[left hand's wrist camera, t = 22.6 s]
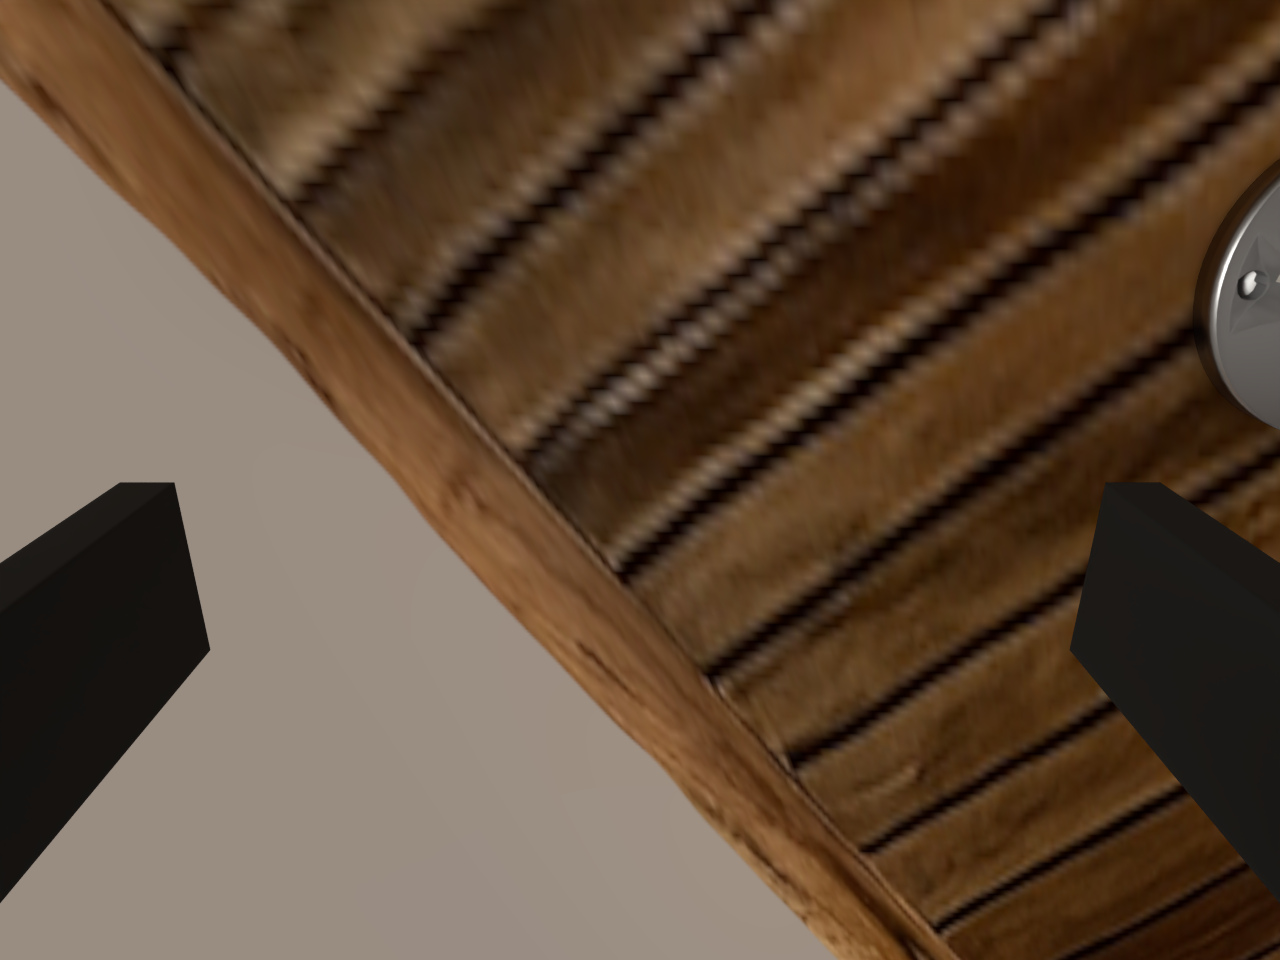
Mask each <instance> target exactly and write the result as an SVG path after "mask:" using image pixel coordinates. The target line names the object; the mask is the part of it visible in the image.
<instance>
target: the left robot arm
mask: <svg viewBox="0 0 1280 960" xmlns="http://www.w3.org/2000/svg"><path fill="white" fill-rule="evenodd" d="M1193 328H1194V337H1195V342H1196V347H1197V351H1198V354H1199V357H1200V360H1201V363H1202V365H1203V367H1204V370H1205V372H1206V374H1207V375H1208V377H1209V379H1210V380H1211V382H1212V383H1213V385H1214V386H1215V387H1216V389H1217V390H1218V391H1219V392H1220V394H1221V395H1222V396H1223V397H1224V398H1226V399H1227V400H1228V401H1229V402H1230V403H1231V404H1232V405H1234V406H1235V407H1236V408H1238V409H1239V410H1240V411H1242V412H1244V413H1246V414H1247V415H1249V416H1251V417H1253V418H1255V419H1257V420H1259V421H1262V422H1264V423H1266V424H1268V425H1270V426H1272V427H1274V428H1277V429H1279V430H1280V159H1279V160H1277V161H1276V162H1275V163H1274V164H1273V165H1272V166H1270V167H1269V168H1268V169H1267V170H1266V171H1265V172H1263V173H1262V174H1261V175H1260V176H1259V177H1258V178H1257V179H1256V180H1255V181H1254V182H1253V183H1252V184H1251V185H1250V186H1249V188H1248V189H1247V190H1246V191H1245V192H1244V193H1243V195H1242V196H1241V197H1240V198H1239V199H1238V200H1237V202H1236V203H1235V205H1234V206H1233V207H1232V209H1231V210H1230V211H1229V213H1228V214H1227V216H1226V217H1225V219H1224V220H1223V222H1222V224H1221V225H1220V227H1219V229H1218V230H1217V232H1216V234H1215V236H1214V238H1213V240H1212V242H1211V244H1210V246H1209V248H1208V251H1207V253H1206V256H1205V258H1204V261H1203V264H1202V267H1201V270H1200V273H1199V276H1198V281H1197V285H1196V290H1195V297H1194V305H1193ZM209 651H210V646H209V642H208V637H207V632H206V628H205V623H204V618H203V614H202V609H201V604H200V600H199V595H198V590H197V586H196V581H195V576H194V572H193V567H192V562H191V558H190V553H189V549H188V544H187V539H186V535H185V530H184V525H183V521H182V516H181V511H180V507H179V502H178V497H177V493H176V488H175V483H119V484H117V485H116V486H114V487H113V488H111V489H110V490H108V491H107V492H105V493H104V494H102V495H101V496H99V497H98V498H96V499H95V500H93V501H92V502H90V503H89V504H87V505H86V506H84V507H83V508H81V509H80V510H78V511H77V512H75V513H74V514H73V515H71V516H70V517H68V518H67V519H65V520H64V521H62V522H61V523H59V524H58V525H56V526H55V527H53V528H52V529H50V530H49V531H47V532H46V533H44V534H43V535H41V536H40V537H38V538H37V539H35V540H34V541H32V542H31V543H29V544H28V545H27V546H25V547H24V548H22V549H21V550H19V551H18V552H16V553H15V554H13V555H12V556H10V557H9V558H7V559H6V560H4V561H3V562H1V563H0V903H1V902H2V900H3V899H4V898H5V897H6V896H7V894H8V893H9V892H10V891H11V889H12V888H13V887H14V886H15V885H16V883H17V882H18V881H19V880H20V879H21V877H22V876H23V875H24V874H25V873H26V871H27V870H28V869H29V868H30V867H31V865H32V864H33V863H34V862H35V861H36V859H37V858H38V857H39V856H40V855H41V853H42V852H43V851H44V850H45V849H46V847H47V846H48V845H49V844H50V842H51V841H52V840H53V839H54V838H55V836H56V835H57V834H58V833H59V832H60V830H61V829H62V828H63V827H64V826H65V824H66V823H67V822H68V821H69V820H70V818H71V817H72V816H73V815H74V813H75V812H76V811H77V810H78V809H79V808H80V806H81V805H82V804H83V803H84V801H85V800H86V799H87V798H88V797H89V795H90V794H91V793H92V792H93V791H94V789H95V788H96V787H97V786H98V785H99V783H100V782H101V781H102V780H103V779H104V777H105V776H106V775H107V774H108V773H109V771H110V770H111V769H112V768H113V767H114V765H115V764H116V763H117V762H118V760H119V759H120V758H121V757H122V756H123V754H124V753H125V752H126V751H127V750H128V748H129V747H130V746H131V745H132V744H133V742H134V741H135V740H136V739H137V738H138V736H139V735H140V734H141V733H142V732H143V730H144V729H145V728H146V727H147V726H148V724H149V723H150V722H151V721H152V720H153V718H154V717H155V716H156V715H157V714H158V712H159V711H160V710H161V709H162V708H163V706H164V705H165V704H166V703H167V701H168V700H169V699H170V698H171V697H172V695H173V694H174V693H175V692H176V691H177V689H178V688H179V687H180V686H181V685H182V683H183V682H184V681H185V680H186V679H187V677H188V676H189V675H190V674H191V672H192V671H193V670H194V669H195V668H196V666H197V665H198V664H199V663H200V662H201V661H202V659H203V658H204V657H205V656H206V654H207V653H208V652H209ZM1070 651H1071V652H1072V653H1073V654H1074V656H1075V657H1076V658H1077V659H1078V661H1079V662H1080V663H1081V664H1082V665H1083V667H1084V668H1085V669H1086V670H1087V671H1088V673H1089V674H1090V675H1091V676H1092V677H1093V679H1094V680H1095V681H1096V682H1097V683H1098V685H1099V686H1100V687H1101V688H1102V689H1103V691H1104V692H1105V693H1106V694H1107V695H1108V697H1109V698H1110V699H1111V700H1112V701H1113V703H1114V704H1115V705H1116V706H1117V708H1118V709H1119V710H1120V711H1121V712H1122V714H1123V715H1124V716H1125V717H1126V718H1127V720H1128V721H1129V722H1130V723H1131V724H1132V726H1133V727H1134V728H1135V729H1136V730H1137V732H1138V733H1139V734H1140V735H1141V736H1142V738H1143V739H1144V740H1145V741H1146V742H1147V744H1148V745H1149V746H1150V747H1151V748H1152V750H1153V751H1154V752H1155V753H1156V755H1157V756H1158V757H1159V758H1160V759H1161V761H1162V762H1163V763H1164V764H1165V765H1166V767H1167V768H1168V769H1169V770H1170V771H1171V773H1172V774H1173V775H1174V776H1175V777H1176V779H1177V780H1178V781H1179V782H1180V783H1181V785H1182V786H1183V787H1184V788H1185V789H1186V791H1187V792H1188V793H1189V794H1190V795H1191V797H1192V798H1193V799H1194V800H1195V802H1196V803H1197V804H1198V805H1199V806H1200V808H1201V809H1202V810H1203V811H1204V812H1205V814H1206V815H1207V816H1208V817H1209V818H1210V820H1211V821H1212V822H1213V823H1214V824H1215V826H1216V827H1217V828H1218V829H1219V830H1220V832H1221V833H1222V834H1223V835H1224V836H1225V838H1226V839H1227V840H1228V841H1229V842H1230V844H1231V845H1232V846H1233V847H1234V849H1235V850H1236V851H1237V852H1238V853H1239V855H1240V856H1241V857H1242V858H1243V859H1244V861H1245V862H1246V863H1247V864H1248V865H1249V867H1250V868H1251V869H1252V870H1253V871H1254V873H1255V874H1256V875H1257V876H1258V877H1259V879H1260V880H1261V881H1262V882H1263V883H1264V885H1265V886H1266V887H1267V888H1268V889H1269V891H1270V892H1271V893H1272V894H1273V896H1274V897H1275V898H1276V899H1277V900H1278V902H1279V903H1280V563H1279V562H1277V561H1276V560H1274V559H1273V558H1271V557H1270V556H1268V555H1267V554H1265V553H1264V552H1262V551H1261V550H1259V549H1258V548H1256V547H1255V546H1253V545H1252V544H1251V543H1249V542H1248V541H1246V540H1245V539H1243V538H1242V537H1240V536H1239V535H1237V534H1236V533H1234V532H1233V531H1231V530H1230V529H1228V528H1227V527H1225V526H1224V525H1222V524H1221V523H1219V522H1218V521H1216V520H1215V519H1213V518H1212V517H1210V516H1209V515H1207V514H1206V513H1205V512H1203V511H1202V510H1200V509H1199V508H1197V507H1196V506H1194V505H1193V504H1191V503H1190V502H1188V501H1187V500H1185V499H1184V498H1182V497H1181V496H1179V495H1178V494H1176V493H1175V492H1173V491H1172V490H1170V489H1169V488H1167V487H1166V486H1164V485H1163V484H1161V483H1105V488H1104V493H1103V497H1102V502H1101V507H1100V511H1099V516H1098V521H1097V525H1096V530H1095V535H1094V539H1093V544H1092V548H1091V553H1090V558H1089V562H1088V567H1087V572H1086V576H1085V581H1084V586H1083V590H1082V595H1081V600H1080V604H1079V609H1078V614H1077V618H1076V623H1075V628H1074V632H1073V637H1072V642H1071V646H1070Z"/></svg>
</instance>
